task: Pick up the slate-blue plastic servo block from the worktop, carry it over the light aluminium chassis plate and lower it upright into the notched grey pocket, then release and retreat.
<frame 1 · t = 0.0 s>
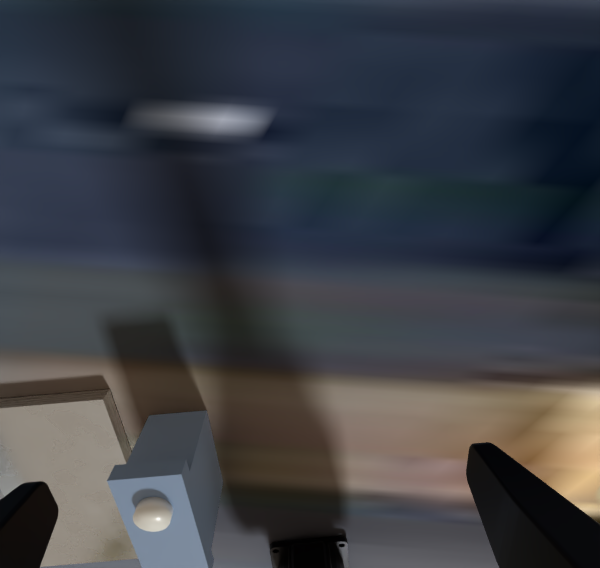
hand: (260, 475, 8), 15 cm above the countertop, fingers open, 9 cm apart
servo block: (188, 449, 27), on the countertop
chassis plate: (6, 486, 28), on the countertop
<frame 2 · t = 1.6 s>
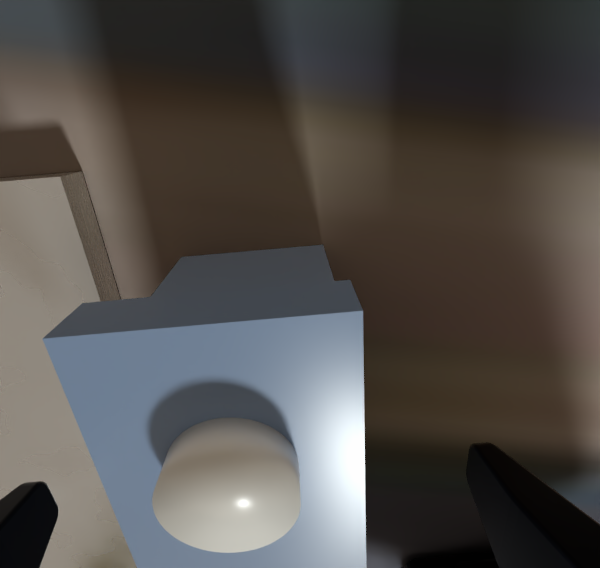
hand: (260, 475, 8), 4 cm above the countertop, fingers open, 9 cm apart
servo block: (266, 354, 12), on the countertop
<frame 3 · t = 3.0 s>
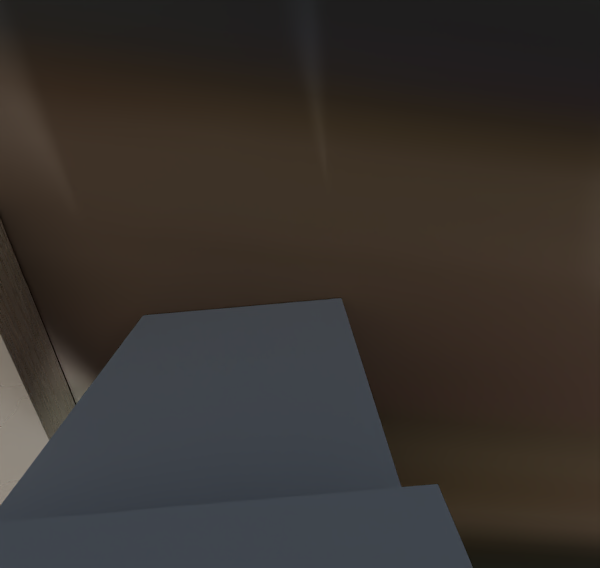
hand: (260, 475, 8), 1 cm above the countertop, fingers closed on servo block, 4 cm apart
servo block: (262, 437, 9), on the countertop, touching gripper
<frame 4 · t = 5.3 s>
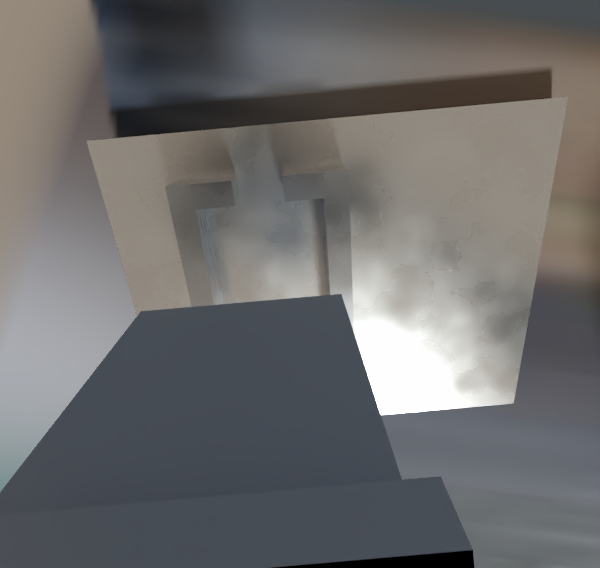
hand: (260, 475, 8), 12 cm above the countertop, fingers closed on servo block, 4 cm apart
servo block: (262, 435, 9), point 11 cm above the countertop, touching gripper
chassis plate: (333, 286, 19), on the countertop
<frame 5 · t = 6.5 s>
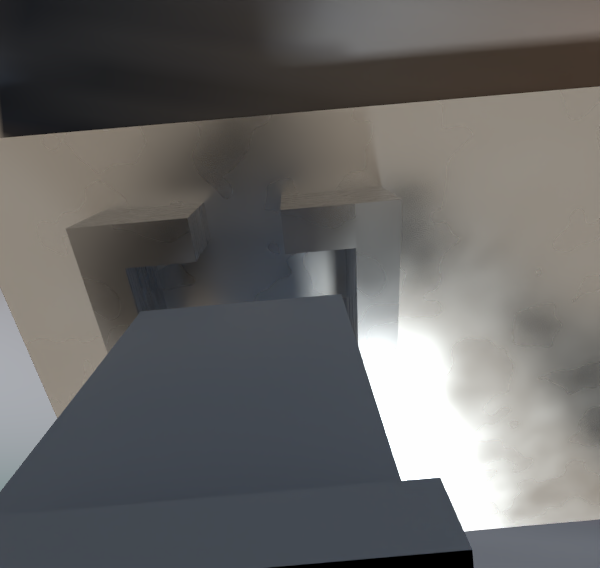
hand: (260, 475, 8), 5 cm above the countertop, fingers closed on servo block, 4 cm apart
servo block: (262, 435, 9), point 4 cm above the countertop, touching gripper
chassis plate: (356, 362, 13), on the countertop
when the fingers open (3 cm above the countertop, at t = 7.6 s): servo block drops 1 cm, resting on chassis plate.
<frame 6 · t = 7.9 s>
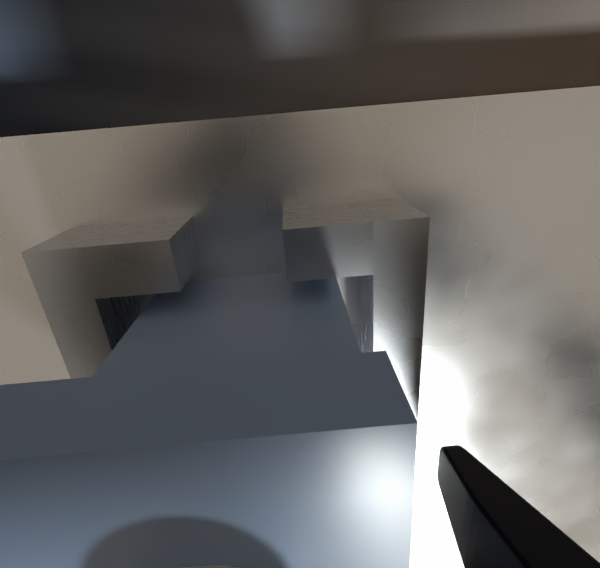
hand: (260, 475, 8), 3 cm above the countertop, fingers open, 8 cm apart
servo block: (266, 394, 10), point 1 cm above the countertop, touching chassis plate
chassis plate: (366, 392, 12), on the countertop
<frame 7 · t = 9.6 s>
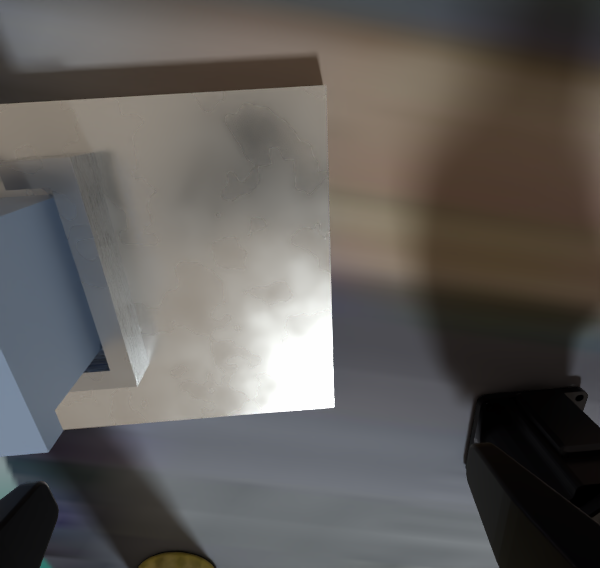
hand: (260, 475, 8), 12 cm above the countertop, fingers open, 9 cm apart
servo block: (44, 274, 17), point 1 cm above the countertop, touching chassis plate
chassis plate: (125, 283, 18), on the countertop
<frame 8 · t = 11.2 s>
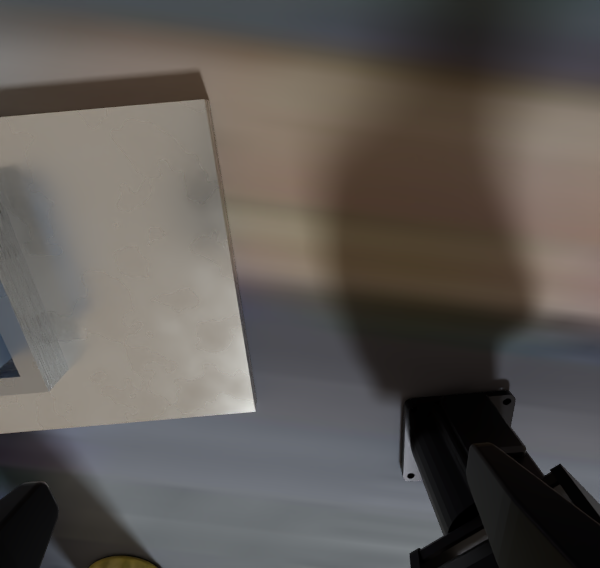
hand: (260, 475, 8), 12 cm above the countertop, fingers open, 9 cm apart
chassis plate: (41, 292, 19), on the countertop
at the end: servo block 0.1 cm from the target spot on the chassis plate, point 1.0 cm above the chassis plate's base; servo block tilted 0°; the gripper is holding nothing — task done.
